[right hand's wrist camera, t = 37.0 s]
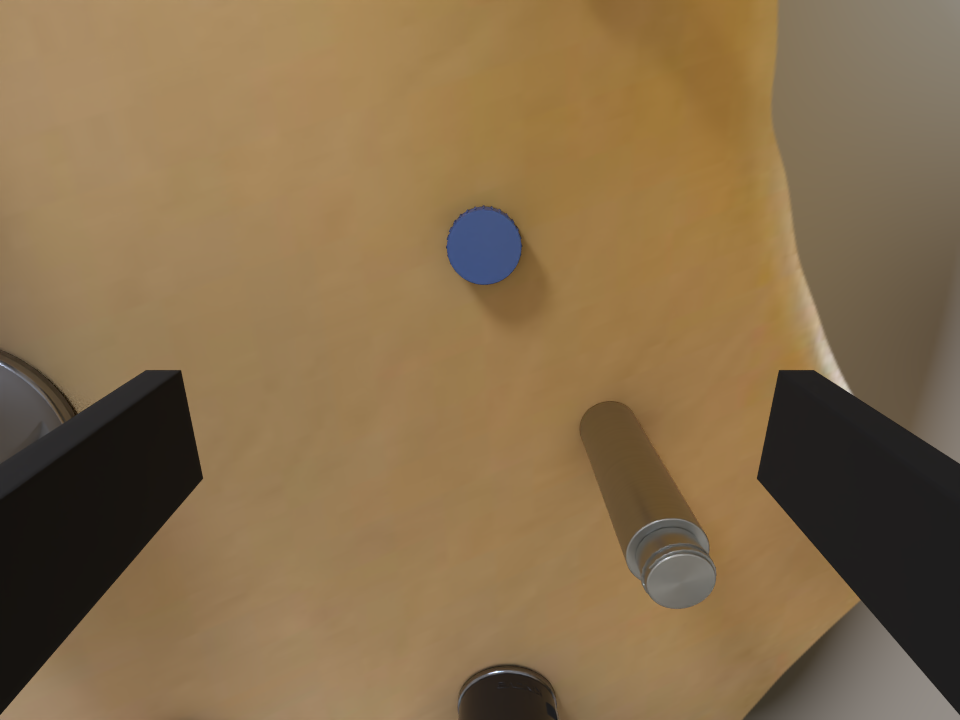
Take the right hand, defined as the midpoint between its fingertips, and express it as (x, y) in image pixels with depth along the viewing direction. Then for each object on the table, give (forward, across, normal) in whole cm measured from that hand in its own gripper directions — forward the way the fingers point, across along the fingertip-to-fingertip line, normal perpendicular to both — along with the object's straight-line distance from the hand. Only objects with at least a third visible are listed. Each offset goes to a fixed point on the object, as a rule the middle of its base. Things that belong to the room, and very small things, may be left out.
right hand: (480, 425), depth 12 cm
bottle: (+27, +10, -14) cm, 32 cm away
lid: (+25, 0, 0) cm, 25 cm away
